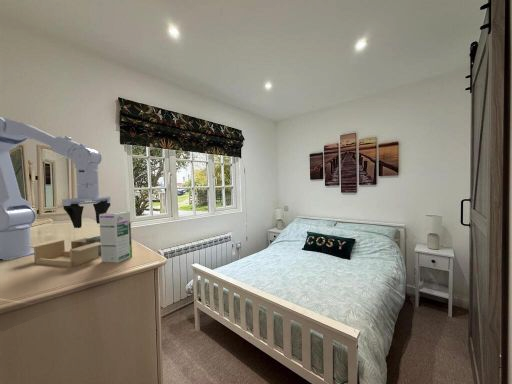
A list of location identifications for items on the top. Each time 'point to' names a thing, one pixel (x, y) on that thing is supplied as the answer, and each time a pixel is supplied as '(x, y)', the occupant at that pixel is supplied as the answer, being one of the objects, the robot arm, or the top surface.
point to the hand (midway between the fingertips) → (89, 225)
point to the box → (86, 243)
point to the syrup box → (115, 236)
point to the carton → (63, 253)
